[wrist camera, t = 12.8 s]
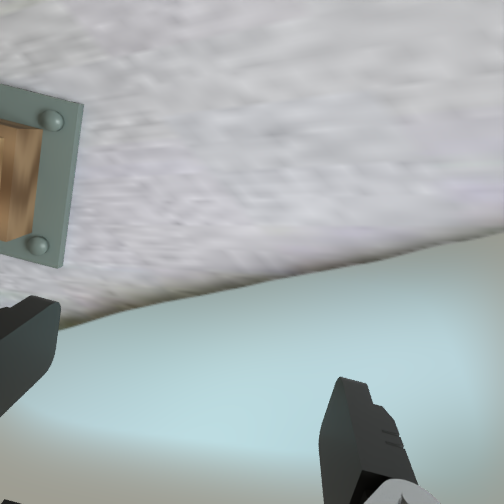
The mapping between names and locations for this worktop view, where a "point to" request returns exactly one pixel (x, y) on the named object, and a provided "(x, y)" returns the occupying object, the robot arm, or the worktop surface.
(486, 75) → the worktop surface
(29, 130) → the stepped wooden plinth
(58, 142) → the baseplate
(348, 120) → the worktop surface
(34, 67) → the worktop surface
